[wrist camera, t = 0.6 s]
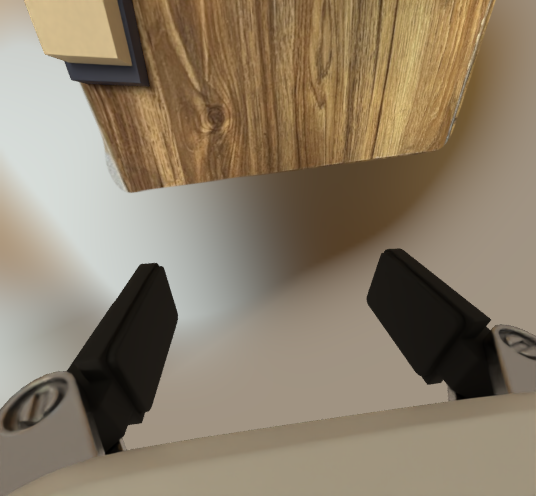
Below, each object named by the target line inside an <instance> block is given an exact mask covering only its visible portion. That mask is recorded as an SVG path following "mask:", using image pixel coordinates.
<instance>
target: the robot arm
mask: <svg viewBox="0 0 536 496" xmlns="http://www.w3.org/2000/svg"><path fill="white" fill-rule="evenodd" d="M367 303H368V305H369V307H370V308H371V309H372V311H373V312H374V314H375V315H376V317H377V318H378V319H379V321H380V322H381V324H382V325H383V327H384V328H385V329H386V331H387V332H388V333H389V335H390V336H391V338H392V339H393V341H394V342H395V344H396V345H397V346H398V348H399V349H400V351H401V352H402V354H403V355H404V356H405V358H406V359H407V361H408V362H409V364H410V365H411V366H412V368H413V369H414V371H415V372H416V373H417V374H418V375H420V376H422V378H423V379H424V381H425V382H426V383H427V384H436V383H441V382H442V381H443V380H444V381H445V382H446V384H447V385H448V400H449V401H448V402H442V403H435V404H428V405H420V406H413V407H407V408H399V409H392V410H385V411H378V412H371V413H364V414H357V415H350V416H344V417H337V418H330V419H323V420H316V421H309V422H302V423H296V424H289V425H282V426H275V427H269V428H263V429H256V430H249V431H243V432H236V433H229V434H222V435H216V436H210V437H202V438H196V439H190V440H184V441H179V442H173V443H166V444H161V445H155V446H150V447H143V448H137V449H131V450H127V449H126V447H125V444H124V441H123V439H122V437H123V436H124V435H125V432H126V429H127V426H128V425H132V424H139V423H142V421H143V417H144V414H145V412H147V411H149V410H150V409H151V407H152V404H153V400H154V397H155V394H156V390H157V387H158V384H159V381H160V377H161V374H162V371H163V367H164V364H165V361H166V357H167V354H168V351H169V348H170V344H171V341H172V338H173V334H174V331H175V328H176V324H177V320H178V313H177V310H176V306H175V303H174V300H173V296H172V293H171V290H170V287H169V283H168V280H167V277H166V273H165V270H164V268H163V267H162V266H159V265H158V264H157V263H149V264H141V265H139V267H138V268H137V270H136V271H135V273H134V274H133V276H132V277H131V279H130V280H129V282H128V283H127V284H126V286H125V287H124V289H123V290H122V292H121V293H120V295H119V296H118V298H117V299H116V301H115V302H114V303H113V304H112V306H111V307H110V308H109V310H108V311H107V313H106V314H105V316H104V317H103V319H102V320H101V322H100V323H99V325H98V326H97V327H96V329H95V330H94V332H93V333H92V335H91V336H90V338H89V339H88V341H87V342H86V344H85V345H84V347H83V348H82V349H81V351H80V352H79V354H78V355H77V357H76V358H75V360H74V361H73V363H72V364H71V366H70V367H69V369H68V370H67V371H58V372H53V373H50V374H46V375H44V376H42V377H40V378H38V379H36V380H34V381H32V382H30V383H29V384H27V385H26V386H25V387H23V388H21V389H20V390H19V391H18V392H17V393H16V394H14V395H13V396H12V397H11V398H10V399H9V400H8V401H7V402H6V403H5V405H4V406H3V407H2V408H1V409H0V496H536V336H535V335H533V334H531V333H529V332H527V331H525V330H522V329H520V328H517V327H514V326H510V325H502V324H500V325H495V326H494V327H493V328H492V329H491V330H489V329H488V328H487V327H486V326H487V324H488V323H489V322H490V321H491V319H490V318H489V317H487V316H486V315H485V314H484V313H482V312H481V311H480V310H479V309H477V308H476V307H475V306H473V305H472V304H471V303H470V302H468V301H467V300H466V299H465V298H463V297H462V296H461V295H459V294H458V293H457V292H456V291H454V290H453V289H452V288H451V287H449V286H448V285H447V284H446V283H444V282H443V281H442V280H441V279H439V278H438V277H437V276H435V275H434V274H433V273H432V272H430V271H429V270H428V269H427V268H425V267H424V266H423V265H422V264H420V263H419V262H418V261H417V260H415V259H414V258H413V257H411V256H410V255H409V254H408V253H406V252H405V251H404V250H402V249H387V250H385V251H384V253H382V254H381V256H380V259H379V262H378V265H377V268H376V271H375V274H374V277H373V280H372V283H371V286H370V289H369V292H368V295H367Z"/></svg>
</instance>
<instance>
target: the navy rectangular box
mask: <svg viewBox="0 0 536 496" xmlns="http://www.w3.org/2000/svg"><path fill="white" fill-rule="evenodd" d="M117 2H118V6H119V10H120V14H121V19H122V23H123V27H124V32H125V36H126V40H127V45H128V49H129V53H130V57H131V62H132V66H120V65H102V64H84V63H69V62H66V61H65V64H66V67H67V70H68V72H69V75H70V78H71V80H73V81H78V82H82V83H86V84H102V85H125V86H147V87H149V86H150V85H149V81H148V76H147V71H146V66H145V61H144V57H143V52H142V47H141V42H140V37H139V33H138V28H137V23H136V18H135V13H134V9H133V4H132V0H117Z"/></svg>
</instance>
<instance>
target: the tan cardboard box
mask: <svg viewBox="0 0 536 496" xmlns="http://www.w3.org/2000/svg"><path fill="white" fill-rule="evenodd" d="M24 2H25V5H26V7H27V9H28V12H29V15H30V18H31V20H32V23H33V25H34V28H35V30H36V33H37V36H38V38H39V41H40V43H41V46H42V49H43V51H44V53H45V55H48V56H51V57H54V58H57V59H60V60H63V61H66V62H69V63H84V64H102V65H120V66H132V62H131V57H130V53H129V49H128V45H127V40H126V36H125V32H124V27H123V23H122V19H121V14H120V10H119V6H118V2H117V0H24Z"/></svg>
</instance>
